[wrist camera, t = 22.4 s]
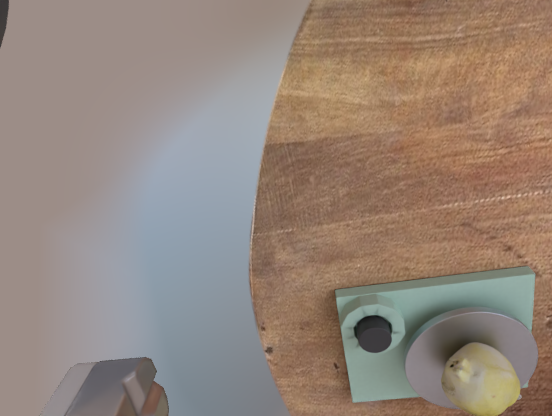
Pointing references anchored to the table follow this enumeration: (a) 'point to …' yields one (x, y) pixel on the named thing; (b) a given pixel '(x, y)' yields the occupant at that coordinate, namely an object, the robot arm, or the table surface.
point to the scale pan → (456, 334)
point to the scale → (420, 320)
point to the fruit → (480, 380)
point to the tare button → (373, 334)
